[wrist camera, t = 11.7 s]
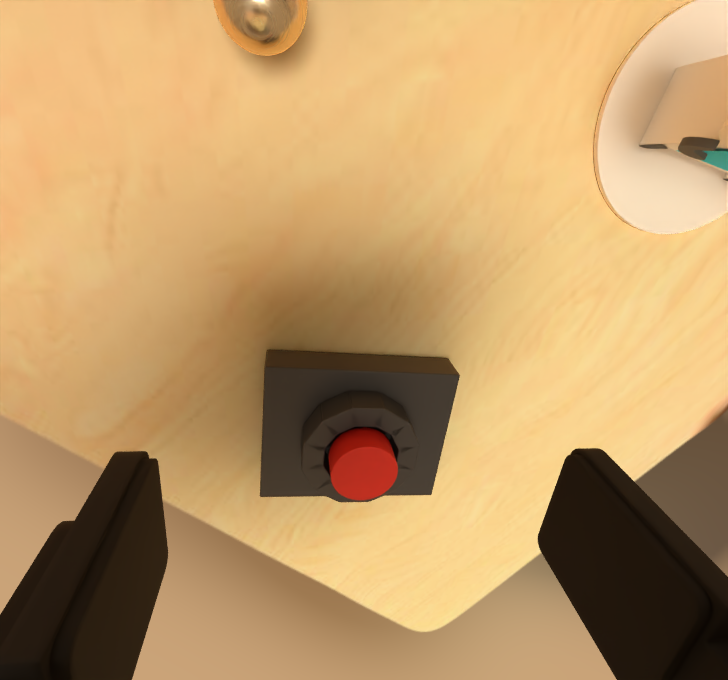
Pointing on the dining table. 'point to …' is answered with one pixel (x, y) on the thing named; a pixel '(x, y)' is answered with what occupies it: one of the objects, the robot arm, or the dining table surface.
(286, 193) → the dining table surface
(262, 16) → the lever
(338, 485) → the stop button
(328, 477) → the push button box
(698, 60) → the panda figurine
